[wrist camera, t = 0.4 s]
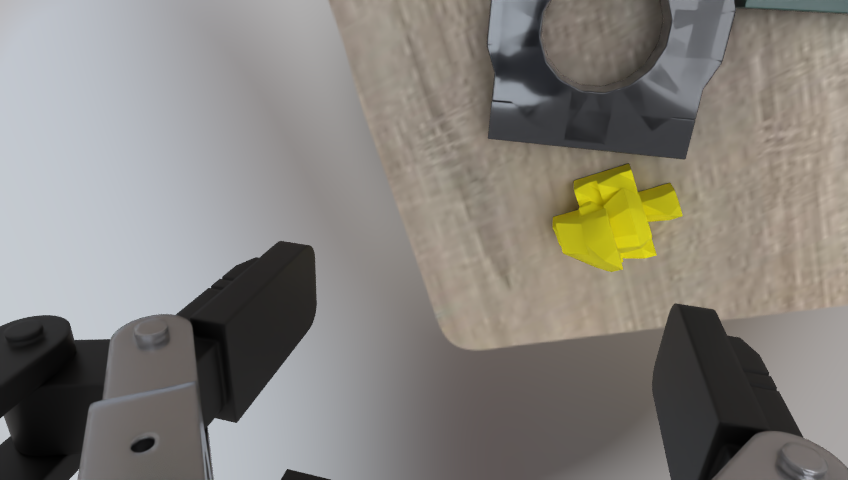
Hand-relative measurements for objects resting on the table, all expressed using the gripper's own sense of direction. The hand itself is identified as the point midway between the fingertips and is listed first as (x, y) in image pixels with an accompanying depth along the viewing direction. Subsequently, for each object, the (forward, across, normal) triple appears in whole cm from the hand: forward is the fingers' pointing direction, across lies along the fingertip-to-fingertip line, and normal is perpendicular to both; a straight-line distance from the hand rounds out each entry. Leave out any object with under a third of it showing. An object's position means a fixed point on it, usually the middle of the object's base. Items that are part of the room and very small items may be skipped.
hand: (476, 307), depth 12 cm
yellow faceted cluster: (+27, -6, +7) cm, 29 cm away
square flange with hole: (+27, -3, -5) cm, 28 cm away
